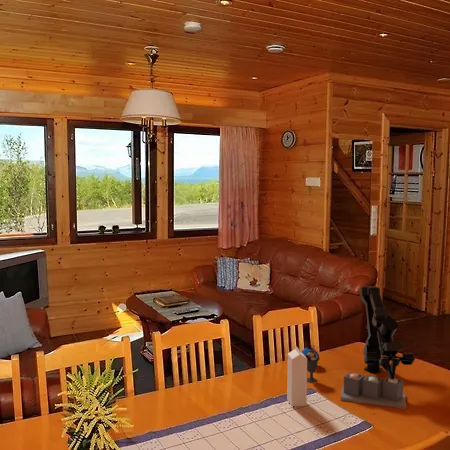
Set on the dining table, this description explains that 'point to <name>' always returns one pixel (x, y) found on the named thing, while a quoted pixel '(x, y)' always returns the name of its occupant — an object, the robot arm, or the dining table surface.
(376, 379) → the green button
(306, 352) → the ornament
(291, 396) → the milk
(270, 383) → the dining table surface
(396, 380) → the white rounded dome
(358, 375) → the salmon orange ball
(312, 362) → the sundae
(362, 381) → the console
